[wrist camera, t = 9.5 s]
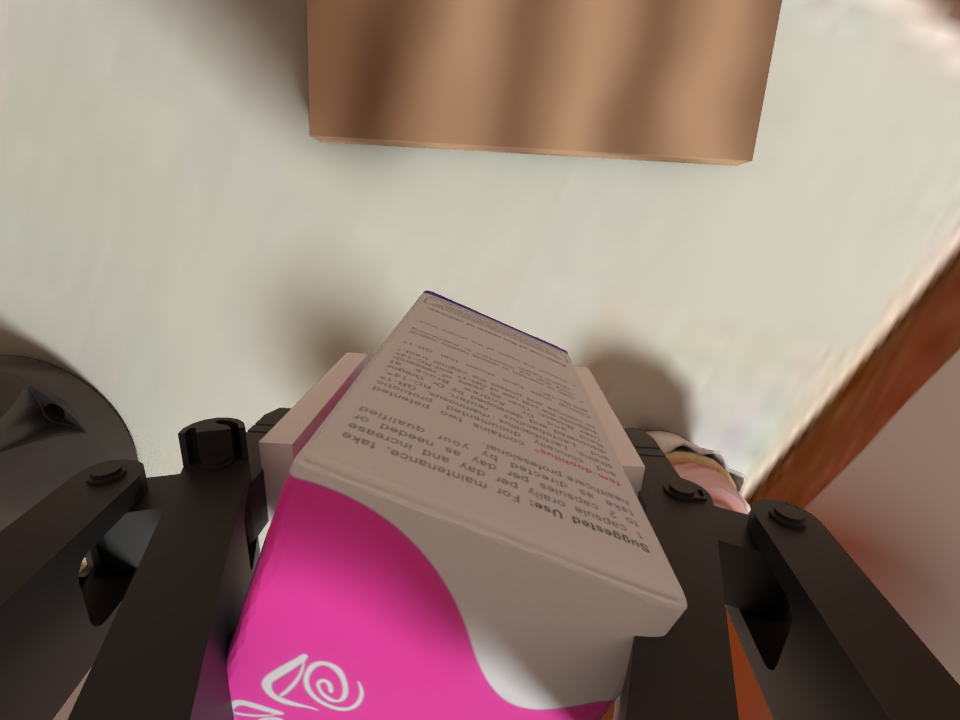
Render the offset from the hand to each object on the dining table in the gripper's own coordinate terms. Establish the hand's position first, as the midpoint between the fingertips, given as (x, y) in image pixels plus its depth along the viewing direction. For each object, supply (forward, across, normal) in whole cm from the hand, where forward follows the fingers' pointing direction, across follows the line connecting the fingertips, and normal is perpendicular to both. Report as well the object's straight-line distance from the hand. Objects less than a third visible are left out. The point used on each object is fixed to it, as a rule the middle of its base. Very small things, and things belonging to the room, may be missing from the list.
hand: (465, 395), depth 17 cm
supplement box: (+1, 0, 0) cm, 1 cm away
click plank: (+14, +2, +13) cm, 20 cm away
